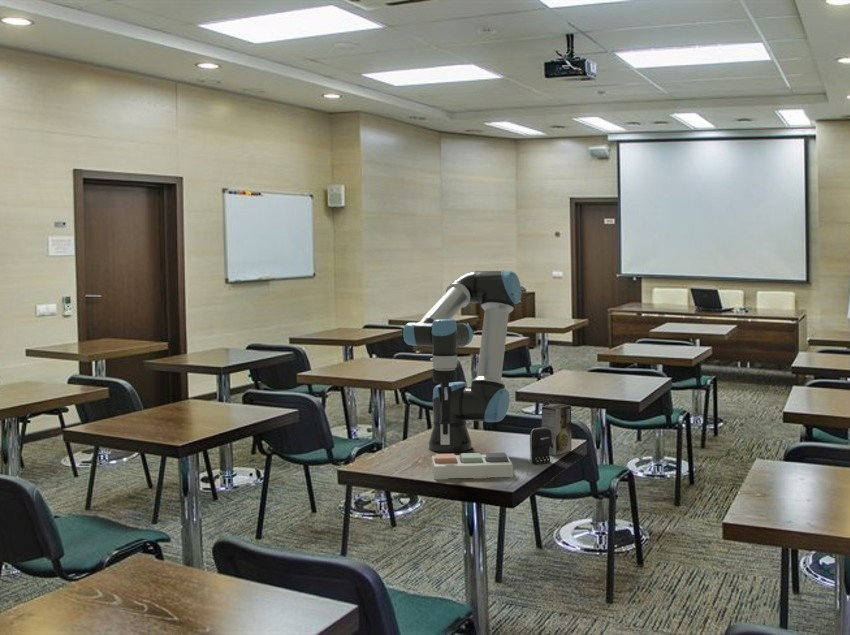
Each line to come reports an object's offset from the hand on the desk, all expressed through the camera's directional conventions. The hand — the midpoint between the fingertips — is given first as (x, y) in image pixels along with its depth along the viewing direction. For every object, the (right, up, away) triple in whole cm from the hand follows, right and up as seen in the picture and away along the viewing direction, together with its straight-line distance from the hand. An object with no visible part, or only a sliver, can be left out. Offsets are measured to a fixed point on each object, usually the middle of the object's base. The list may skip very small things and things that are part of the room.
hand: (445, 444), depth 265 cm
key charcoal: (+16, -7, +1) cm, 18 cm away
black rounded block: (+32, -8, +12) cm, 35 cm away
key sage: (+8, -7, +1) cm, 11 cm away
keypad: (+8, -9, +1) cm, 12 cm away
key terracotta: (0, -7, +1) cm, 7 cm away
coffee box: (+39, -7, +28) cm, 48 cm away
